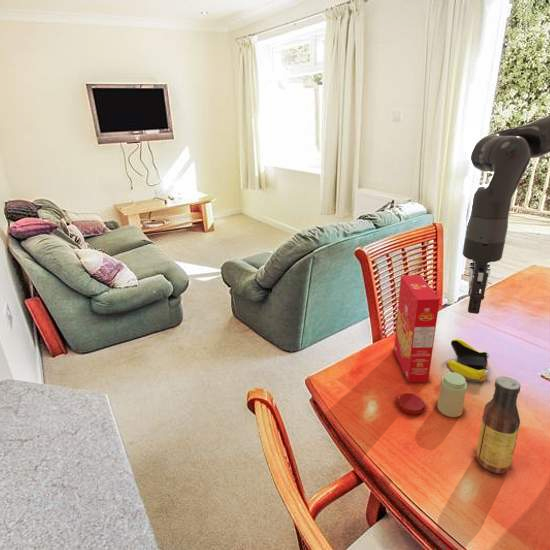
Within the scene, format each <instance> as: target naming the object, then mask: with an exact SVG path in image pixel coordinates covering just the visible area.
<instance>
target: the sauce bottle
mask: <svg viewBox="0 0 550 550" xmlns="http://www.w3.org/2000/svg"><path fill="white" fill-rule="evenodd" d="M520 391H521V384H520V382H519V381H518V380H517V379H515V378H513V377H509V376H505V375H504V376H503V375H502V376H498V377H496V378H495V381H494V393H493V396H492V399H491V400H490V401H488V402H487V403H486V404H485V405H484V409H483V415H482V416H481V423H480V427H479V434H478V439H477V445H476V453H475V454H476V459H477V462H478V464H479V466H481V467H482V468H484V469H485V470H487V471H488V472H491V473H494V474H504V473H507V471H508V470H509V469H510V467H511V465H512V462H513V458H514V453H515V448H516V445H517V440H518V435H519V431H520V425H521V419H520V415H519V410H518V406H517V405H518V404H517V399H518V395H519V394H520V393H521V392H520Z"/></svg>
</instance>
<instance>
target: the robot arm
mask: <svg viewBox="0 0 550 550" xmlns="http://www.w3.org/2000/svg"><path fill="white" fill-rule="evenodd" d="M549 154H550V114H548V115H545V116H543V117H540V118H538V119H536V120H534V121H533V120H532V121H531V122H529V123H526V124H524V125H520V126H519V125H518V126H515V127H511V128H507V129H503V130H498V131H495V132H491V133H490V134H487V135H485V136H484V137H482V138H481V139H479V140H478V141H477V142H476V143H475V144H474V145H473V147H472V149H471V151H470V156H469V158H470V163H471V165H472V166H473V167H474V168H475V169H476V170H478V171H480V172H484V173H491V174H492V176H491V178H490V179H489V182H488V183H487V184H482V185H479V186H477V187H476V188H475V189H474V191H473V195H472V199H471V205H470V211H469V217H468V220H467V223H466V228H465V235H464V241H463V248H462V256H463V257H464V258H466V259H467V260H470V262H469V266H468V276H469V280H468V293H467V296H468V297H469V300H468V306H467V312H468V313H469V314H474V315H478V314H480V310H481V305H482V301H484V299H485V294H486V293H485V292H486V289H487V287H488V281H489V276H490V275H491V263H495V262H499V261H500V260H501V259H503V255H504V249H505V244H506V238H507V234H508V228H509V216H510V211H511V207H512V201H513V197H514V194H515V192H516V191H517V189H518V187H519V185H520V183H521V181H522V180H523V177H524V175H525V173H526V171H527V169H528V167H529V165H530V161H531V159H536V158H538V159H539V158H542V157H544V156H546V155H549Z"/></svg>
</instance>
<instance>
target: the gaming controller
mask: <svg viewBox="0 0 550 550" xmlns="http://www.w3.org/2000/svg"><path fill="white" fill-rule="evenodd" d="M450 346H451V348H452V349H453V351H454V353H455V356H456V358H457V360H456V361H455V360H453V359H451V360H447V361H446V363H445V366H446V368H447V369H448V370H449V372H454V373H458V374H460V375H462V376H463V377H464V378H465V380H467V381H470V382H472V383H477V382H479V383H481V382H483V381H486V380H487V377H488V373H489V369H487V368H488V365H489V361H488V359H489V357H490V353H489V352H487V351H483V350H482V351H481V350H477V349H475V347H473V346H471V345H470V344H469V343H467V341H464V340H463V339H461V338H457V337H456V338H454V339H452V340H451V342H450Z"/></svg>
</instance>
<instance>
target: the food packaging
mask: <svg viewBox="0 0 550 550" xmlns="http://www.w3.org/2000/svg"><path fill="white" fill-rule="evenodd" d="M440 299H441V298H439V296H438V295H437V294H436V292H435V291H434V290H433V289H432V287H431V286H430V285H429V283H428V282H426V280H425V279H424V278H423V277H422V276H421V274H409V275H407V274H403V275H400V281H399V292H398V304H397V314H396V325H395V337H394V347H393V352H394V353H395V356H396V358H397V361H398V363H399V365H400V367H401V369H402V372H403V374H404V376H405V378H406V380H407V383H428V382H429V380H430V379H429V378H430V369H431V363H432V356H433V350H434V342H435V335H436V328H437V320H438V315H439V307H440V301H441V300H440Z"/></svg>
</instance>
